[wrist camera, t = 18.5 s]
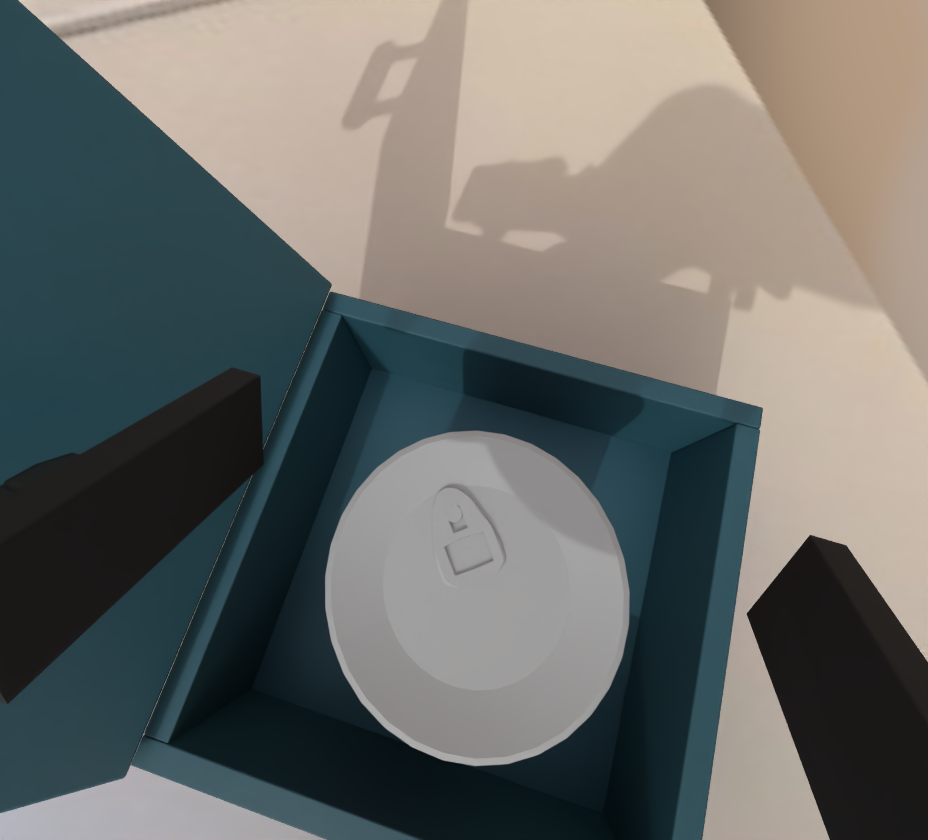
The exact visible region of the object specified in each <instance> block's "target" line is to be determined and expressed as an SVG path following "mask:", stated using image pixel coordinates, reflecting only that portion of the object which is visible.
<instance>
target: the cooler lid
mask: <svg viewBox="0 0 928 840" xmlns="http://www.w3.org/2000/svg"><path fill="white" fill-rule="evenodd" d="M331 285H332V284H331V283H330V282H329V281H328V280H327V279H326V278H324V277H323V276H322V275H321V274H320V273H319V272H318V271H317V270H316V269H314V268H313V267H312V266H311V265H310V264H309V263H308V262H307V261H306V260H305V259H303V258H302V257H301V256H300V255H299V254H298V253H297V252H296V251H295V250H293V249H292V248H291V247H290V246H289V245H288V244H287V243H286V242H285V241H284V240H282V239H281V238H280V237H279V236H278V235H277V234H276V233H275V232H274V231H272V230H271V229H270V228H269V227H268V226H267V225H266V224H265V223H264V222H262V221H261V220H260V219H259V218H258V217H257V216H256V215H255V214H254V213H253V212H251V211H250V210H249V209H248V208H247V207H246V206H245V205H244V204H243V203H241V202H240V201H239V200H238V199H237V198H236V197H235V196H234V195H233V194H232V193H230V192H229V191H228V190H227V189H226V188H225V187H224V186H223V185H222V184H220V183H219V182H218V181H217V180H216V179H215V178H214V177H213V176H212V175H211V174H209V173H208V172H207V171H206V170H205V169H204V168H203V167H202V166H201V165H199V164H198V163H197V162H196V161H195V160H194V159H193V158H192V157H191V156H190V155H188V154H187V153H186V152H185V151H184V150H183V149H182V148H181V147H180V146H178V145H177V144H176V143H175V142H174V141H173V140H172V139H171V138H170V137H168V136H167V135H166V134H165V133H164V132H163V131H162V130H161V129H160V128H159V127H157V126H156V125H155V124H154V123H153V122H152V121H151V120H150V119H149V118H147V117H146V116H145V115H144V114H143V113H142V112H141V111H140V110H139V109H138V108H136V107H135V106H134V105H133V104H132V103H131V102H130V101H129V100H128V99H126V98H125V97H124V96H123V95H122V94H121V93H120V92H119V91H118V90H117V89H115V88H114V87H113V86H112V85H111V84H110V83H109V82H108V81H107V80H105V79H104V78H103V77H102V76H101V75H100V74H99V73H98V72H97V71H96V70H94V69H93V68H92V67H91V66H90V65H89V64H88V63H87V62H86V61H84V60H83V59H82V58H81V57H80V56H79V55H78V54H77V53H76V52H74V51H73V50H72V49H71V48H70V47H69V46H68V45H67V44H66V43H65V42H63V41H62V40H61V39H60V38H59V37H58V36H57V35H56V34H55V33H53V32H52V31H51V30H50V29H49V28H48V27H47V26H46V25H45V24H44V23H42V22H41V21H40V20H39V19H38V18H37V17H36V16H35V15H34V14H32V13H31V12H30V11H29V10H28V9H27V8H26V7H25V6H24V5H23V4H21V3H20V2H19V1H18V0H0V486H1V485H3V484H4V481H6V480H7V479H9V478H11V477H13V476H15V475H17V474H18V473H20V472H22V471H24V470H26V469H28V468H29V467H31V466H33V465H35V464H37V463H40V462H44V461H47V460H50V459H53V458H56V457H59V456H62V455H65V454H68V453H71V452H73V453H76V454H79V455H80V454H82V453H84V452H85V451H87V450H89V449H90V448H92V447H94V446H96V445H97V444H99V443H101V442H103V441H104V440H106V439H108V438H110V437H111V436H113V435H115V434H117V433H118V432H120V431H122V430H124V429H125V428H127V427H129V426H131V425H132V424H134V423H136V422H137V421H139V420H141V419H143V418H144V417H146V416H148V415H150V414H151V413H153V412H155V411H157V410H158V409H160V408H162V407H164V406H165V405H167V404H169V403H171V402H172V401H174V400H176V399H177V398H179V397H181V396H183V395H184V394H186V393H188V392H190V391H191V390H193V389H195V388H197V387H198V386H200V385H202V384H204V383H205V382H207V381H209V380H211V379H212V378H214V377H216V376H217V375H219V374H221V373H223V372H224V371H226V370H228V369H230V368H231V367H233V368H237V369H240V370H243V371H247V372H250V373H254V374H257V375H260V377H261V404H262V431H263V448H264V445H265V443H266V441H267V438H268V436H269V433H270V431H271V429H272V426H273V424H274V422H275V419H276V417H277V414H278V412H279V410H280V407H281V405H282V402H283V400H284V398H285V395H286V393H287V391H288V388H289V386H290V383H291V381H292V379H293V376H294V374H295V372H296V369H297V367H298V364H299V362H300V360H301V357H302V355H303V352H304V350H305V348H306V345H307V343H308V341H309V338H310V336H311V333H312V331H313V329H314V326H315V324H316V322H317V319H318V317H319V314H320V312H321V310H322V307H323V305H324V302H325V300H326V298H327V295H328V293H329V291H330V288H331ZM250 479H251V477H250V478H249V479H248V480H246V481H245V482H244V483H243V484H242V485H241V486H240V487H239V488H238V489H237V490H236V491H235V492H234V493H233V494H232V495H230V496H229V497H228V498H227V499H226V500H225V501H224V502H223V503H222V504H221V505H220V506H219V507H218V508H217V509H216V510H214V511H213V512H212V513H211V514H210V515H209V516H208V517H207V518H206V519H205V520H204V521H203V522H202V523H201V524H200V525H198V526H197V527H196V528H195V529H194V530H193V531H192V532H191V533H190V534H189V535H188V536H187V537H186V538H185V539H184V540H182V541H181V542H180V543H179V544H178V545H177V546H176V547H175V548H174V549H173V550H172V551H171V552H170V553H169V554H168V555H166V556H165V557H164V558H163V559H162V560H161V561H160V562H159V563H158V564H157V565H156V566H155V567H154V568H153V569H152V570H150V571H149V572H148V573H147V574H146V575H145V576H144V577H143V578H142V579H141V580H140V581H139V582H138V583H137V584H136V585H134V586H133V587H132V588H131V589H130V590H129V591H128V592H127V593H126V594H125V595H124V596H123V597H122V598H121V599H120V600H118V601H117V602H116V603H115V604H114V605H113V606H112V607H111V608H110V609H109V610H108V611H107V612H106V613H105V614H104V615H102V616H101V617H100V618H99V619H98V620H97V621H96V622H95V623H94V624H93V625H92V626H91V627H90V628H89V629H88V630H86V631H85V632H84V633H83V634H82V635H81V636H80V637H79V638H78V639H77V640H76V641H75V642H74V643H73V644H72V645H70V646H69V647H68V648H67V649H66V650H65V651H64V652H63V653H62V654H61V655H60V656H59V657H58V658H57V659H56V660H54V661H53V662H52V663H51V664H50V665H49V666H48V667H47V668H46V669H45V670H44V671H43V672H42V673H41V674H40V675H38V676H37V677H36V678H35V679H34V680H33V681H32V682H31V683H30V684H29V685H28V686H27V687H26V688H25V689H24V690H22V691H21V692H20V693H19V694H18V695H17V696H16V697H15V698H14V699H13V700H12V701H11V702H10V703H9V704H5V703H3V702H0V813H3V812H6V811H10V810H13V809H17V808H20V807H24V806H27V805H31V804H34V803H38V802H41V801H45V800H48V799H52V798H55V797H59V796H62V795H66V794H70V793H73V792H77V791H80V790H84V789H87V788H91V787H94V786H98V785H101V784H105V783H108V782H112V781H115V780H119V779H122V778H124V777H125V776H126V774H127V772H128V769H129V767H130V765H131V762H132V760H133V757H134V755H135V753H136V750H137V748H138V745H139V743H140V741H141V738H142V736H143V734H144V731H145V729H146V726H147V724H148V722H149V719H150V717H151V715H152V712H153V710H154V707H155V705H156V703H157V700H158V698H159V695H160V693H161V691H162V688H163V686H164V684H165V681H166V679H167V676H168V674H169V672H170V669H171V667H172V664H173V662H174V660H175V657H176V655H177V653H178V650H179V648H180V645H181V643H182V641H183V638H184V636H185V634H186V631H187V629H188V626H189V624H190V622H191V619H192V617H193V614H194V612H195V610H196V607H197V605H198V603H199V600H200V598H201V595H202V593H203V591H204V588H205V586H206V584H207V581H208V579H209V576H210V574H211V572H212V569H213V567H214V564H215V562H216V560H217V557H218V555H219V553H220V550H221V548H222V545H223V543H224V541H225V538H226V536H227V533H228V531H229V529H230V526H231V524H232V522H233V519H234V517H235V514H236V512H237V510H238V507H239V505H240V503H241V500H242V498H243V495H244V493H245V491H246V488H247V486H248V483H249V481H250Z"/></svg>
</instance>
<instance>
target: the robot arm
mask: <svg viewBox="0 0 928 840" xmlns="http://www.w3.org/2000/svg"><path fill="white" fill-rule="evenodd" d="M262 465H264V458H263V431H262V404H261V377H260V375H257V374H254V373H250V372H247V371H243V370H240V369H237V368H233V367H231V368H230V369H228V370H226V371H224V372H223V373H221V374H219V375H217V376H216V377H214V378H212V379H211V380H209V381H207V382H205V383H204V384H202V385H200V386H198V387H197V388H195V389H193V390H191V391H190V392H188V393H186V394H184V395H183V396H181V397H179V398H177V399H176V400H174V401H172V402H171V403H169V404H167V405H165V406H164V407H162V408H160V409H158V410H157V411H155V412H153V413H151V414H150V415H148V416H146V417H144V418H143V419H141V420H139V421H137V422H136V423H134V424H132V425H131V426H129V427H127V428H125V429H124V430H122V431H120V432H118V433H117V434H115V435H113V436H111V437H110V438H108V439H106V440H104V441H103V442H101V443H99V444H97V445H96V446H94V447H92V448H90V449H89V450H87V451H85V452H84V453H82V454H80V455H79V454H76V453H73V452H71V453H68V454H65V455H62V456H59V457H56V458H53V459H50V460H47V461H44V462H40V463H37V464H35V465H33V466H31V467H29V468H28V469H26V470H24V471H22V472H20V473H18V474H17V475H15V476H13V477H11V478H9V479H7V480H6V481H4V484H3V485H1V486H0V702H3V703H5V704H9V703H10V702H11V701H12V700H13V699H14V698H15V697H16V696H17V695H18V694H19V693H20V692H21V691H22V690H24V689H25V688H26V687H27V686H28V685H29V684H30V683H31V682H32V681H33V680H34V679H35V678H36V677H37V676H38V675H40V674H41V673H42V672H43V671H44V670H45V669H46V668H47V667H48V666H49V665H50V664H51V663H52V662H53V661H54V660H56V659H57V658H58V657H59V656H60V655H61V654H62V653H63V652H64V651H65V650H66V649H67V648H68V647H69V646H70V645H72V644H73V643H74V642H75V641H76V640H77V639H78V638H79V637H80V636H81V635H82V634H83V633H84V632H85V631H86V630H88V629H89V628H90V627H91V626H92V625H93V624H94V623H95V622H96V621H97V620H98V619H99V618H100V617H101V616H102V615H104V614H105V613H106V612H107V611H108V610H109V609H110V608H111V607H112V606H113V605H114V604H115V603H116V602H117V601H118V600H120V599H121V598H122V597H123V596H124V595H125V594H126V593H127V592H128V591H129V590H130V589H131V588H132V587H133V586H134V585H136V584H137V583H138V582H139V581H140V580H141V579H142V578H143V577H144V576H145V575H146V574H147V573H148V572H149V571H150V570H152V569H153V568H154V567H155V566H156V565H157V564H158V563H159V562H160V561H161V560H162V559H163V558H164V557H165V556H166V555H168V554H169V553H170V552H171V551H172V550H173V549H174V548H175V547H176V546H177V545H178V544H179V543H180V542H181V541H182V540H184V539H185V538H186V537H187V536H188V535H189V534H190V533H191V532H192V531H193V530H194V529H195V528H196V527H197V526H198V525H200V524H201V523H202V522H203V521H204V520H205V519H206V518H207V517H208V516H209V515H210V514H211V513H212V512H213V511H214V510H216V509H217V508H218V507H219V506H220V505H221V504H222V503H223V502H224V501H225V500H226V499H227V498H228V497H229V496H230V495H232V494H233V493H234V492H235V491H236V490H237V489H238V488H239V487H240V486H241V485H242V484H243V483H244V482H245V481H246V480H248V479H249V478H250V477H251V476H252V475H253V474H254V473H255V472H256V471H257V470H258V469H259V468H260V467H261V466H262ZM747 616H748V619H749V621H750V624H751V627H752V630H753V632H754V635H755V638H756V640H757V643H758V646H759V649H760V651H761V654H762V657H763V659H764V662H765V665H766V667H767V670H768V673H769V676H770V678H771V681H772V684H773V686H774V689H775V692H776V695H777V697H778V700H779V703H780V705H781V708H782V711H783V714H784V716H785V719H786V722H787V724H788V727H789V730H790V733H791V735H792V738H793V741H794V743H795V746H796V749H797V752H798V754H799V757H800V760H801V762H802V765H803V768H804V771H805V773H806V776H807V779H808V781H809V784H810V787H811V790H812V792H813V795H814V798H815V800H816V803H817V806H818V809H819V811H820V814H821V817H822V819H823V822H824V825H825V828H826V830H827V833H828V836H829V838H830V840H928V662H927V660H926V659H925V658H924V656H923V655H922V653H921V652H920V650H919V649H918V648H917V646H916V645H915V643H914V642H913V640H912V639H911V637H910V636H909V635H908V633H907V632H906V630H905V629H904V627H903V626H902V625H901V623H900V622H899V620H898V619H897V617H896V616H895V615H894V613H893V612H892V610H891V609H890V607H889V606H888V605H887V603H886V602H885V600H884V599H883V597H882V596H881V594H880V593H879V592H878V590H877V589H876V587H875V586H874V584H873V583H872V582H871V580H870V579H869V577H868V576H867V574H866V573H865V572H864V570H863V569H862V567H861V566H860V564H859V563H858V562H857V560H856V559H855V557H854V556H853V554H852V553H851V551H850V550H849V549H848V547H847V546H846V545H843V544H839V543H836V542H832V541H829V540H826V539H822V538H819V537H815V536H812V535H810V536H809V537H808V538H807V540H806V541H805V542H804V543H803V545H802V546H801V547H800V548H799V549H798V551H797V552H796V553H795V554H794V556H793V557H792V558H791V559H790V561H789V562H788V563H787V564H786V566H785V567H784V568H783V569H782V571H781V572H780V573H779V574H778V576H777V577H776V578H775V579H774V581H773V582H772V583H771V584H770V586H769V587H768V588H767V589H766V590H765V592H764V593H763V594H762V595H761V597H760V598H759V599H758V600H757V602H756V603H755V604H754V605H753V607H752V608H751V609H750V610H749V612H748V613H747Z"/></svg>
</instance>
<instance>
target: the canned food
mask: <svg viewBox="0 0 928 840" xmlns="http://www.w3.org/2000/svg"><path fill="white" fill-rule="evenodd" d="M629 593H630V591H629V585H628V579H627V573H626V567H625V561H624V557H623V554H622V551H621V548H620V545H619V543H618V540H617V537H616V534H615V531H614V528H613V527H612V525H611V523H610V521H609V519H608V518H607V516H606V514H605V512H604V511H603V509H602V507H601V505H600V503H599V502H598V500H597V499H596V498H595V497H594V495H593V494H592V493H591V492H590V490H589V489H588V488H587V487H586V486H585V484H584V483H583V482H582V481H581V480H580V478H579V477H578V476H577V475H575V474H574V473H573V472H572V471H571V470H569V469H568V468H567V467H566V466H565V465H564V464H562V463H561V462H560V461H559V460H558V459H557V458H555V457H553V456H552V455H550V454H548V453H546V452H545V451H543V450H541V449H539V448H538V447H536V446H534V445H532V444H531V443H528V442H525V441H522V440H519V439H516V438H513V437H510V436H507V435H505V434H498V433H491V432H484V431H461V432H449V433H445V434H441V435H437V436H433V437H429V438H425V439H422V440H420V441H418V442H416V443H414V444H412V445H410V446H408V447H406V448H404V449H402V450H400V451H398V452H397V453H396V454H394V455H393V456H392V457H390V458H389V459H388V460H386V461H385V462H384V463H382V464H381V465H380V466H378V467H377V468H376V469H375V470H374V471H373V472H372V473H371V475H370V476H369V477H368V478H367V479H366V480H365V481H364V482H363V484H362V485H361V486H360V487H359V488H358V489H357V491H356V492H355V494H354V496H353V497H352V499H351V501H350V502H349V504H348V506H347V507H346V509H345V511H344V512H343V514H342V516H341V518H340V521H339V524H338V526H337V529H336V532H335V535H334V537H333V540H332V543H331V546H330V552H329V557H328V563H327V569H326V574H325V610H326V615H327V620H328V626H329V631H330V637H331V642H332V645H333V647H334V650H335V652H336V655H337V658H338V660H339V663H340V666H341V668H342V671H343V673H344V675H345V677H346V678H347V680H348V682H349V683H350V685H351V686H352V688H353V690H354V691H355V693H356V695H357V696H358V698H359V700H360V701H361V703H362V704H363V705H364V706H365V707H366V708H367V709H368V710H369V711H370V712H371V714H372V715H373V716H374V717H375V718H376V719H377V720H378V721H379V722H380V723H381V724H382V725H383V727H384V728H386V729H387V730H389V731H390V732H391V733H393V734H394V735H396V736H397V737H398V738H400V739H401V740H403V741H404V742H405V743H407V744H408V745H410V746H411V747H413V748H415V749H417V750H420V751H422V752H425V753H427V754H429V755H432V756H434V757H436V758H439V759H441V760H444V761H450V762H455V763H461V764H467V765H472V766H483V765H501V764H510V763H513V762H516V761H519V760H523V759H526V758H529V757H533V756H536V755H539V754H541V753H542V752H544V751H546V750H547V749H549V748H551V747H553V746H554V745H556V744H558V743H559V742H561V741H563V740H565V739H566V738H568V737H569V736H570V735H571V734H572V733H573V732H574V731H575V730H576V729H577V728H578V727H579V726H580V725H581V724H582V723H583V722H585V721H586V720H587V719H588V718H589V717H590V716H591V714H592V713H593V712H594V710H595V709H596V707H597V706H598V704H599V703H600V701H601V700H602V698H603V697H604V695H605V694H606V693H607V691H608V690H609V688H610V686H611V683H612V681H613V678H614V676H615V674H616V671H617V669H618V666H619V664H620V662H621V659H622V656H623V651H624V647H625V642H626V637H627V632H628V627H629Z"/></svg>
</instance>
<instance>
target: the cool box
mask: <svg viewBox="0 0 928 840" xmlns="http://www.w3.org/2000/svg"><path fill="white" fill-rule="evenodd" d="M762 411H763V409H762V408H761V407H757V406H753V405H750V404H746V403H742V402H739V401H735V400H731V399H728V398H724V397H720V396H716V395H713V394H709V393H705V392H702V391H698V390H694V389H690V388H687V387H683V386H679V385H676V384H672V383H668V382H664V381H661V380H657V379H653V378H650V377H646V376H642V375H639V374H635V373H631V372H627V371H624V370H620V369H616V368H613V367H609V366H605V365H601V364H598V363H594V362H590V361H587V360H583V359H579V358H575V357H572V356H568V355H564V354H561V353H557V352H553V351H550V350H546V349H542V348H538V347H535V346H531V345H527V344H524V343H520V342H516V341H512V340H509V339H505V338H501V337H498V336H494V335H490V334H486V333H483V332H479V331H475V330H472V329H468V328H464V327H461V326H457V325H453V324H449V323H446V322H442V321H438V320H435V319H431V318H427V317H423V316H420V315H416V314H412V313H409V312H405V311H401V310H397V309H394V308H390V307H386V306H383V305H379V304H375V303H372V302H368V301H364V300H360V299H357V298H353V297H349V296H346V295H342V294H338V293H334V292H330V293H329V295H328V297H327V300H326V302H325V305H324V307H323V310H322V311H321V313H320V316H319V318H318V321H317V323H316V325H315V328H314V330H313V332H312V335H311V337H310V340H309V342H308V344H307V347H306V349H305V352H304V354H303V356H302V359H301V361H300V363H299V366H298V368H297V371H296V373H295V375H294V378H293V380H292V383H291V385H290V387H289V390H288V392H287V394H286V397H285V399H284V402H283V404H282V406H281V409H280V411H279V414H278V416H277V418H276V421H275V423H274V425H273V428H272V430H271V433H270V435H269V437H268V440H267V442H266V445H265V447H264V449H263V458H264V465H262V466H261V467H260V468H259V469H258V470H257V471H256V472H255V473H254V474H253V475H252V478H251V480H250V483H249V485H248V487H247V490H246V492H245V495H244V497H243V499H242V502H241V504H240V506H239V509H238V511H237V514H236V516H235V518H234V521H233V523H232V526H231V528H230V530H229V533H228V535H227V537H226V540H225V542H224V545H223V547H222V549H221V552H220V554H219V557H218V559H217V561H216V564H215V566H214V568H213V571H212V573H211V576H210V578H209V580H208V583H207V585H206V588H205V590H204V592H203V595H202V597H201V599H200V602H199V604H198V607H197V609H196V611H195V614H194V616H193V619H192V621H191V623H190V626H189V628H188V630H187V633H186V635H185V638H184V640H183V642H182V645H181V647H180V650H179V652H178V654H177V657H176V659H175V661H174V664H173V666H172V669H171V671H170V673H169V676H168V678H167V681H166V683H165V685H164V688H163V690H162V692H161V695H160V697H159V700H158V702H157V704H156V707H155V709H154V711H153V714H152V716H151V719H150V721H149V723H148V726H147V728H146V731H145V735H144V736H143V737H142V740H141V742H140V744H139V747H138V749H137V752H136V754H135V756H134V759H133V761H132V764H131V765H132V766H135V767H138V768H140V769H143V770H145V771H148V772H151V773H153V774H156V775H159V776H161V777H164V778H166V779H169V780H172V781H174V782H177V783H180V784H182V785H185V786H187V787H190V788H193V789H195V790H198V791H201V792H203V793H206V794H208V795H211V796H214V797H216V798H219V799H222V800H224V801H227V802H229V803H232V804H235V805H237V806H240V807H243V808H245V809H248V810H250V811H253V812H256V813H258V814H261V815H264V816H266V817H269V818H271V819H274V820H277V821H279V822H282V823H285V824H287V825H290V826H292V827H295V828H298V829H300V830H303V831H306V832H308V833H311V834H314V835H316V836H319V837H321V838H324V839H327V840H702V836H703V829H704V822H705V815H706V808H707V801H708V794H709V787H710V780H711V773H712V766H713V759H714V752H715V745H716V738H717V731H718V724H719V717H720V709H721V702H722V695H723V688H724V681H725V674H726V667H727V660H728V653H729V646H730V639H731V632H732V625H733V618H734V611H735V604H736V597H737V590H738V582H739V575H740V568H741V561H742V554H743V547H744V540H745V533H746V526H747V519H748V512H749V505H750V498H751V491H752V484H753V477H754V470H755V463H756V456H757V448H758V441H759V434H760V430H759V428H760V426H761V418H762ZM461 431H484V432H491V433H498V434H505V435H507V436H510V437H513V438H516V439H519V440H522V441H525V442H528V443H531V444H532V445H534V446H536V447H538V448H539V449H541V450H543V451H545V452H546V453H548V454H550V455H552V456H553V457H555V458H557V459H558V460H559V461H560V462H561V463H562V464H564V465H565V466H566V467H567V468H568V469H569V470H571V471H572V472H573V473H574V474H575V475H577V476H578V477H579V478H580V480H581V481H582V482H583V483H584V484H585V486H586V487H587V488H588V489H589V490H590V492H591V493H592V494H593V495H594V497H595V498H596V499H597V500H598V502H599V503H600V505H601V507H602V509H603V511H604V512H605V514H606V516H607V518H608V519H609V521H610V523H611V525H612V527H613V528H614V531H615V534H616V537H617V540H618V543H619V545H620V548H621V551H622V554H623V557H624V561H625V567H626V573H627V579H628V585H629V591H630V593H629V627H628V632H627V637H626V642H625V647H624V651H623V656H622V659H621V662H620V664H619V666H618V669H617V671H616V674H615V676H614V678H613V681H612V683H611V686H610V688H609V690H608V691H607V693H606V694H605V695H604V697H603V698H602V700H601V701H600V703H599V704H598V706H597V707H596V709H595V710H594V712H593V713H592V714H591V716H590V717H589V718H588V719H587V720H586V721H585V722H583V723H582V724H581V725H580V726H579V727H578V728H577V729H576V730H575V731H574V732H573V733H572V734H571V735H570V736H569V737H568V738H566V739H565V740H563V741H561V742H559V743H558V744H556V745H554V746H553V747H551V748H549V749H547V750H546V751H544V752H542V753H541V754H539V755H536V756H533V757H529V758H526V759H523V760H519V761H516V762H513V763H510V764H501V765H483V766H472V765H467V764H461V763H455V762H450V761H444V760H441V759H439V758H436V757H434V756H432V755H429V754H427V753H425V752H422V751H420V750H417V749H415V748H413V747H411V746H410V745H408V744H407V743H405V742H404V741H403V740H401V739H400V738H398V737H397V736H396V735H394V734H393V733H391V732H390V731H389V730H387V729H386V728H384V727H383V725H382V724H381V723H380V722H379V721H378V720H377V719H376V718H375V717H374V716H373V715H372V714H371V712H370V711H369V710H368V709H367V708H366V707H365V706H364V705H363V704H362V703H361V701H360V700H359V698H358V696H357V695H356V693H355V691H354V690H353V688H352V686H351V685H350V683H349V682H348V680H347V678H346V677H345V675H344V673H343V671H342V668H341V666H340V663H339V660H338V658H337V655H336V652H335V650H334V647H333V645H332V642H331V637H330V631H329V626H328V620H327V615H326V610H325V574H326V569H327V563H328V557H329V552H330V546H331V543H332V540H333V537H334V535H335V532H336V529H337V526H338V524H339V521H340V518H341V516H342V514H343V512H344V511H345V509H346V507H347V506H348V504H349V502H350V501H351V499H352V497H353V496H354V494H355V492H356V491H357V489H358V488H359V487H360V486H361V485H362V484H363V482H364V481H365V480H366V479H367V478H368V477H369V476H370V475H371V473H372V472H373V471H374V470H375V469H376V468H377V467H378V466H380V465H381V464H382V463H384V462H385V461H386V460H388V459H389V458H390V457H392V456H393V455H394V454H396V453H397V452H398V451H400V450H402V449H404V448H406V447H408V446H410V445H412V444H414V443H416V442H418V441H420V440H422V439H425V438H429V437H433V436H437V435H441V434H445V433H449V432H461Z"/></svg>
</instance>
